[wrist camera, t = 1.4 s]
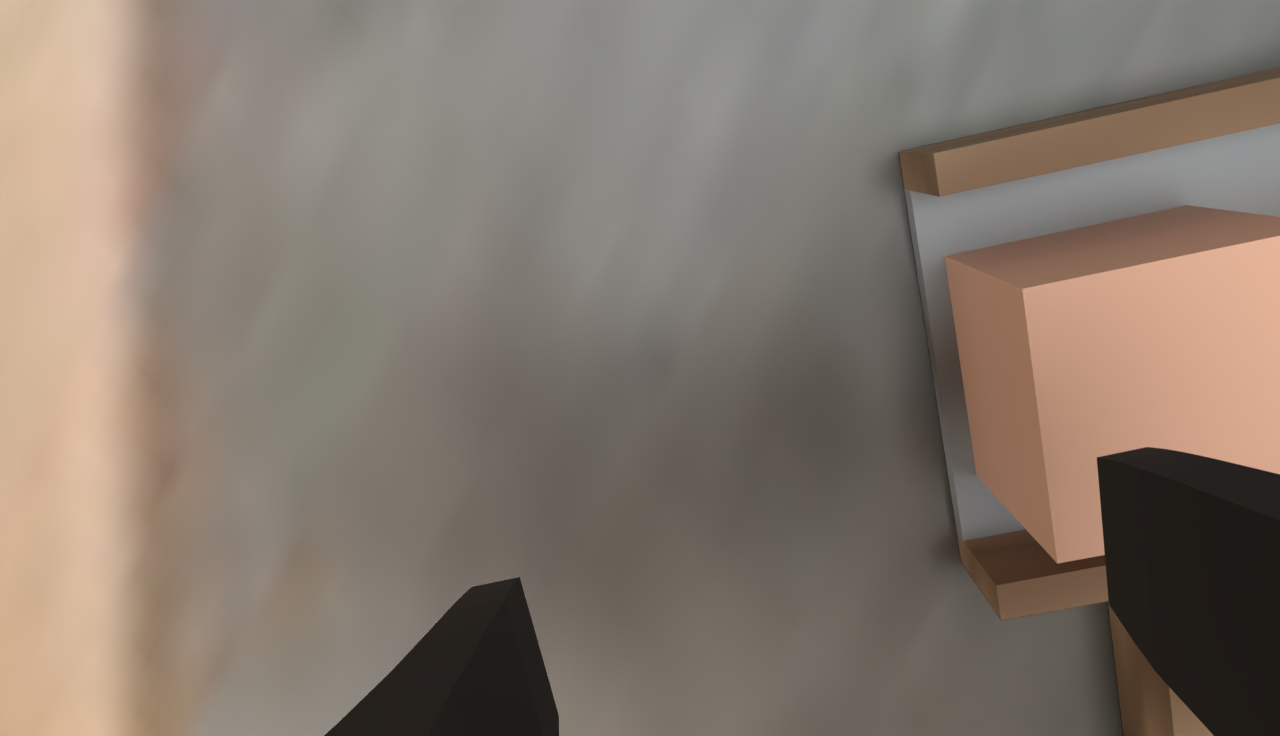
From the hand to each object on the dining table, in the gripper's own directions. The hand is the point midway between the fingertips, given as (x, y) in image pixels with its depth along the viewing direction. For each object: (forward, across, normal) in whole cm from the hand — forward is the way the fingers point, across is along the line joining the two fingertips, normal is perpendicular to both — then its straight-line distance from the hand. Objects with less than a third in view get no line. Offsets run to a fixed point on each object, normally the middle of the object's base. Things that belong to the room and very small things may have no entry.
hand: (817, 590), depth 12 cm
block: (+9, -7, +1) cm, 12 cm away
